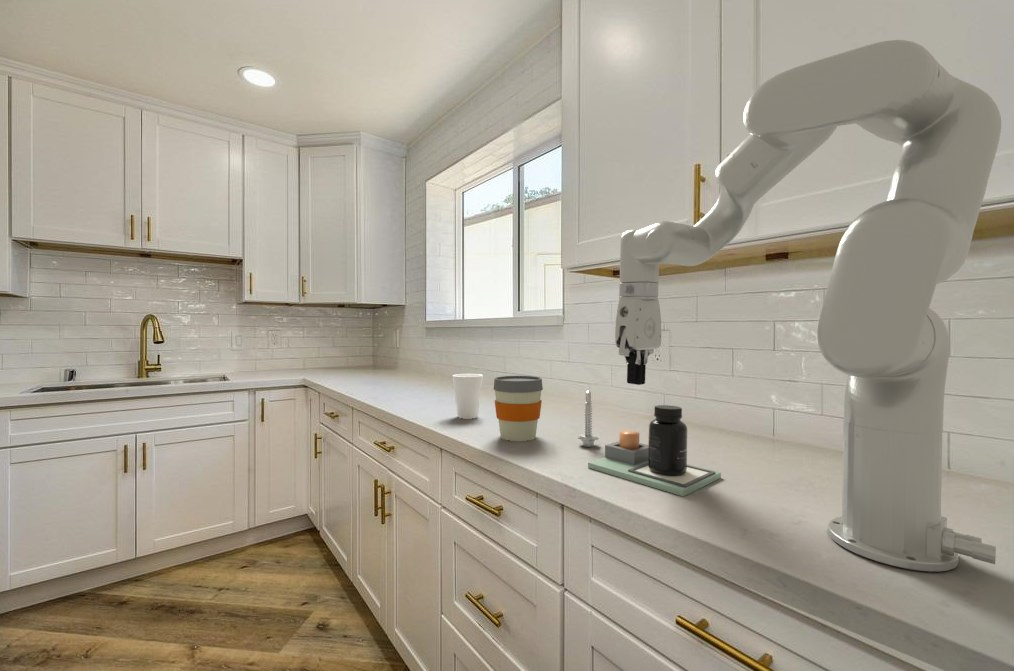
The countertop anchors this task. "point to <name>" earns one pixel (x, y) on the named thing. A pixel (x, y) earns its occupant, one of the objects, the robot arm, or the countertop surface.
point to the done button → (629, 439)
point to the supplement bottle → (667, 442)
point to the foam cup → (467, 394)
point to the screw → (588, 424)
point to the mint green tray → (637, 470)
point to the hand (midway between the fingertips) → (635, 383)
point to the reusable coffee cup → (518, 406)
